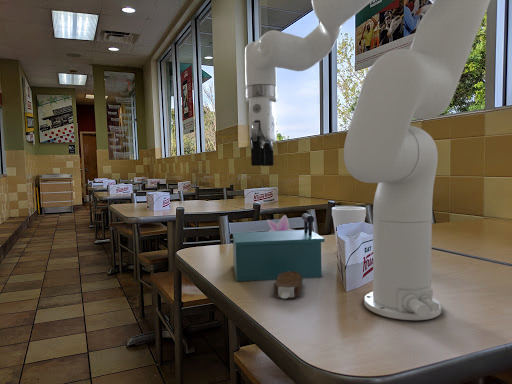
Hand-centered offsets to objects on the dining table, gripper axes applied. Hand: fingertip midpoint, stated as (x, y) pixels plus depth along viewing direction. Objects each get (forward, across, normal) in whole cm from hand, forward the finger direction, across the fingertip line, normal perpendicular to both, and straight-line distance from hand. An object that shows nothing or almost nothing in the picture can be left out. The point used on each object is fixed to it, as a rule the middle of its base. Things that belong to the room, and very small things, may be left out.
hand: (263, 165), depth 93 cm
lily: (+26, +22, 0) cm, 34 cm away
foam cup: (+26, +20, -20) cm, 38 cm away
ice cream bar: (+26, -18, -9) cm, 33 cm away
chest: (+26, -3, -3) cm, 26 cm away
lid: (+18, -3, -3) cm, 18 cm away
